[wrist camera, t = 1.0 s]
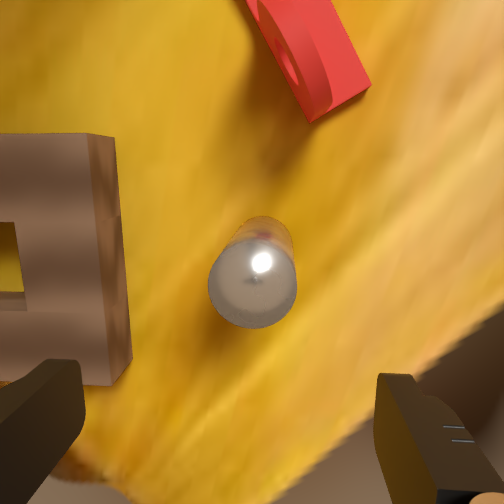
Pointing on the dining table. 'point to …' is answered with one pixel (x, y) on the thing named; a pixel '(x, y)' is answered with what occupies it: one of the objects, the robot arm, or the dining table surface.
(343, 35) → the bracket
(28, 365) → the socket block
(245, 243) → the peg
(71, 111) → the dining table surface
